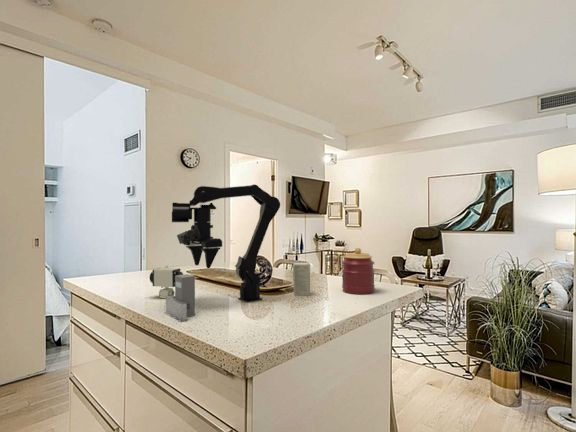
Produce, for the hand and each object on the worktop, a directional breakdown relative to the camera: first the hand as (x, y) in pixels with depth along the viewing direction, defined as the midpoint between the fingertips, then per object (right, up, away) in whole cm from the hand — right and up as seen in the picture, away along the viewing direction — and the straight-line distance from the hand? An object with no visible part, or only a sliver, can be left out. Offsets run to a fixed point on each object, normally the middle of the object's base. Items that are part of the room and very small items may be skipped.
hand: (202, 266), depth 116 cm
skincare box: (+35, -13, +13) cm, 40 cm away
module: (-2, -13, -14) cm, 19 cm away
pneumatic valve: (-16, -14, +10) cm, 23 cm away
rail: (-4, -13, -15) cm, 20 cm away
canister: (+59, -13, +18) cm, 63 cm away
